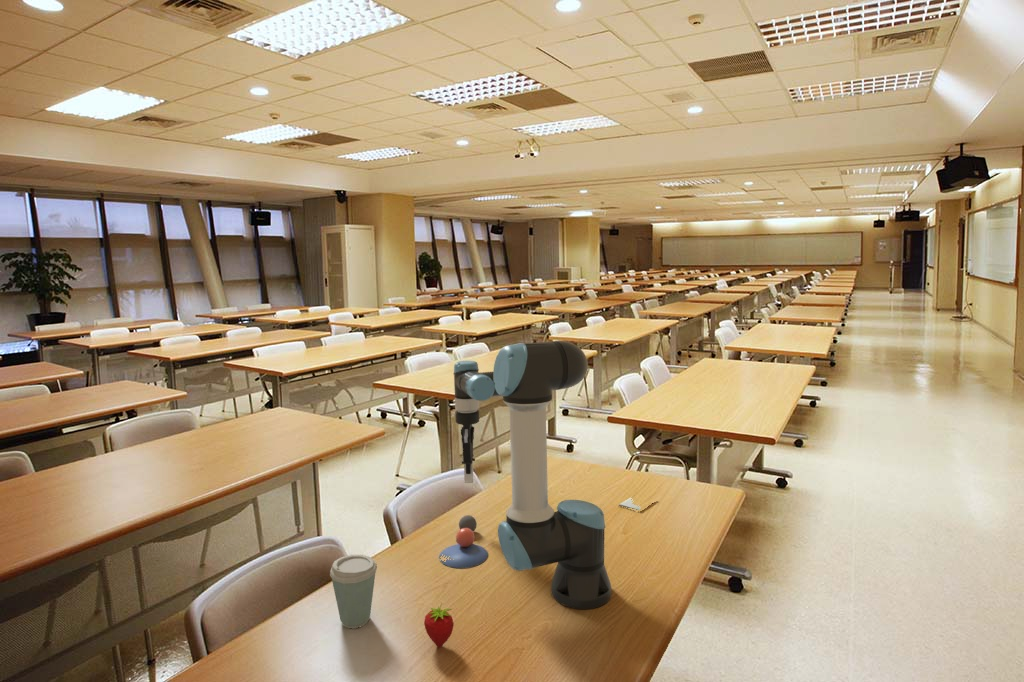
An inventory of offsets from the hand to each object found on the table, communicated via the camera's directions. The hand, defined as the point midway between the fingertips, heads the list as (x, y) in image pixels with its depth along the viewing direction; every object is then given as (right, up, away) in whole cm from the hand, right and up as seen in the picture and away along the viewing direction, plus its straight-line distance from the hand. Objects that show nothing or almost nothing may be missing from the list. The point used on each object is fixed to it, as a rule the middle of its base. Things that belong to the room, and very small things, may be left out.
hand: (469, 482), depth 185 cm
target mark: (0, -17, -18) cm, 25 cm away
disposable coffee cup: (-23, -21, -48) cm, 57 cm away
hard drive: (+58, -12, +16) cm, 61 cm away
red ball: (0, -13, -13) cm, 18 cm away
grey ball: (0, -12, -4) cm, 13 cm away
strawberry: (-2, -22, -58) cm, 62 cm away
